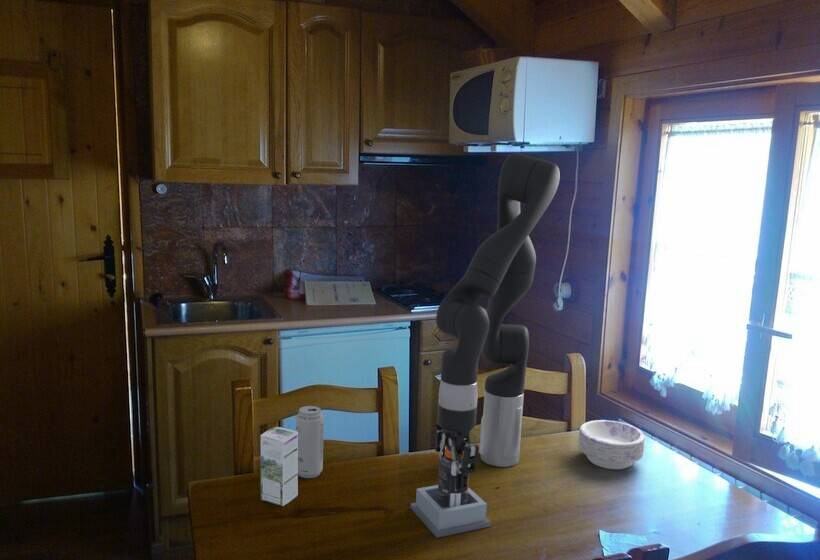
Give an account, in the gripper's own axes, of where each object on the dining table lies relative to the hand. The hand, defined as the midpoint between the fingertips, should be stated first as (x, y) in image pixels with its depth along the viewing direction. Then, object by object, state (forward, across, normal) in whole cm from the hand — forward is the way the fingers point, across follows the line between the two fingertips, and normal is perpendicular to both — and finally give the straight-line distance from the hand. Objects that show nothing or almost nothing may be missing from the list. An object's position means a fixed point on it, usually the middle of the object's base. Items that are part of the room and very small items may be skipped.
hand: (453, 482), depth 137 cm
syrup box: (+8, +20, +30) cm, 37 cm away
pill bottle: (+4, 0, 0) cm, 4 cm away
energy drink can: (+8, +28, +21) cm, 36 cm away
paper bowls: (+8, +10, -49) cm, 50 cm away
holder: (+7, 0, 0) cm, 7 cm away
